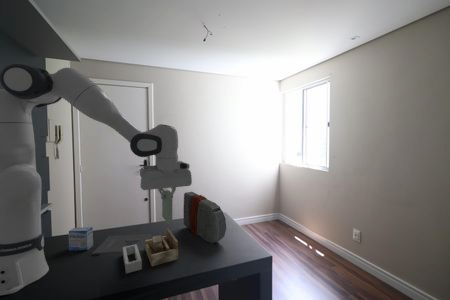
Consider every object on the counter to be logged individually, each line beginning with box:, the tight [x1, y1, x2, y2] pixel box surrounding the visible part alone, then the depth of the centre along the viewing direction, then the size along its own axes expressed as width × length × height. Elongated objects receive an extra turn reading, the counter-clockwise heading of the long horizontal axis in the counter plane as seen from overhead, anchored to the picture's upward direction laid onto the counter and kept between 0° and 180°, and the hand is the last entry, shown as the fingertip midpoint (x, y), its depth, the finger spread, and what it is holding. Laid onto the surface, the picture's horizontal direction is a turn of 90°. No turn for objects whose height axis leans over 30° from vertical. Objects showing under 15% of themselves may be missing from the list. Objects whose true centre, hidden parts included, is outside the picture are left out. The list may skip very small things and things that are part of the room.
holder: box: [122, 243, 143, 274], centre depth 83 cm, size 5×14×4 cm, turn 29°
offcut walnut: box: [151, 242, 164, 254], centre depth 87 cm, size 3×7×2 cm, turn 33°
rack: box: [144, 228, 179, 267], centre depth 88 cm, size 10×14×8 cm
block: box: [161, 188, 173, 225], centre depth 89 cm, size 2×10×12 cm, turn 29°
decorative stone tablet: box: [182, 191, 227, 244], centre depth 105 cm, size 19×6×30 cm
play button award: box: [91, 233, 153, 256], centre depth 98 cm, size 16×2×20 cm
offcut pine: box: [151, 235, 162, 248], centre depth 87 cm, size 3×6×2 cm, turn 24°
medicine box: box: [68, 226, 94, 252], centre depth 95 cm, size 8×4×9 cm, turn 93°
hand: (167, 198), depth 88 cm, fingers closed on block, 2 cm apart
